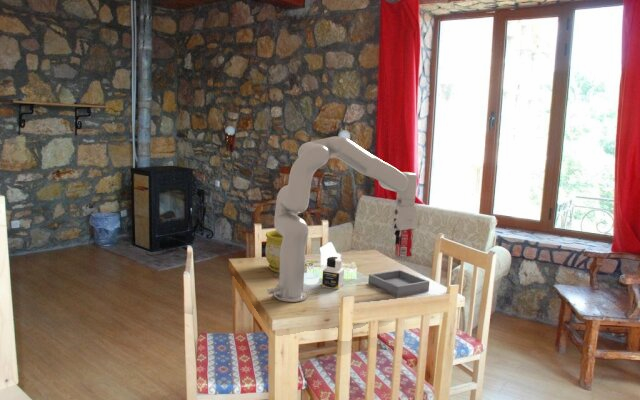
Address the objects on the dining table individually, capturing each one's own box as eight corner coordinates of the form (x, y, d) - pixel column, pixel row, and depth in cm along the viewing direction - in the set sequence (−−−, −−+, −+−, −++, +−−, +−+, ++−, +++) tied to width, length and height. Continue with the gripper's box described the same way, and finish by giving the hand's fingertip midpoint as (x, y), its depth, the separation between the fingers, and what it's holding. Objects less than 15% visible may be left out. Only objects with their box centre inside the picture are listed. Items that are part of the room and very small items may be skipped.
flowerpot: (297, 277, 223) (299, 240, 220) (258, 272, 227) (259, 236, 225) (308, 266, 240) (310, 232, 237) (272, 261, 244) (274, 228, 242)
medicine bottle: (321, 286, 213) (323, 258, 211) (327, 282, 219) (329, 254, 217) (338, 289, 210) (340, 261, 208) (343, 284, 217) (345, 257, 215)
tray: (396, 296, 206) (397, 287, 205) (368, 283, 221) (368, 274, 220) (428, 290, 216) (429, 281, 216) (399, 278, 231) (399, 269, 230)
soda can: (413, 259, 213) (415, 228, 212) (395, 258, 213) (398, 227, 212) (410, 256, 220) (412, 226, 219) (393, 254, 220) (395, 225, 219)
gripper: (397, 204, 205) (393, 249, 208) (426, 202, 214) (422, 245, 217) (384, 201, 211) (380, 244, 214) (413, 199, 220) (409, 241, 223)
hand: (401, 244), depth 215 cm, fingers closed on soda can, 3 cm apart
